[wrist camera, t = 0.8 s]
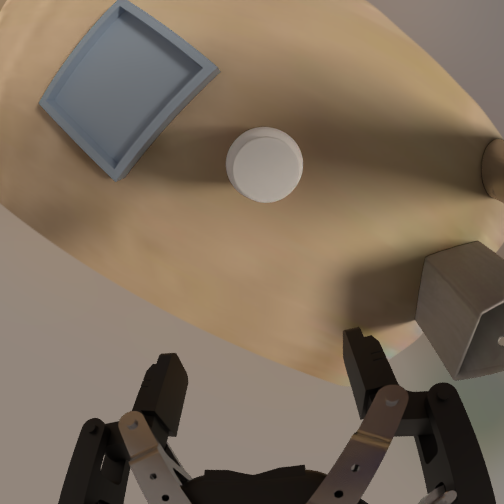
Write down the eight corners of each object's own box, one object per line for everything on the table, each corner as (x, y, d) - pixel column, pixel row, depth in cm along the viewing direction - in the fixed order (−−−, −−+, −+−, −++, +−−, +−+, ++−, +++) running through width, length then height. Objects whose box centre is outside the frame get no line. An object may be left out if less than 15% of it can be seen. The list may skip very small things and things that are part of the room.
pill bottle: (302, 162, 29) (328, 181, 19) (257, 195, 30) (258, 230, 20) (268, 116, 27) (275, 108, 17) (221, 150, 28) (203, 162, 18)
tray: (129, 3, 20) (121, -4, 18) (220, 72, 25) (217, 67, 22) (50, 103, 25) (38, 103, 22) (124, 177, 29) (115, 181, 27)
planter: (458, 212, 31) (557, 280, 13) (479, 242, 32) (561, 311, 15) (388, 300, 36) (450, 406, 19) (416, 320, 38) (472, 413, 21)
